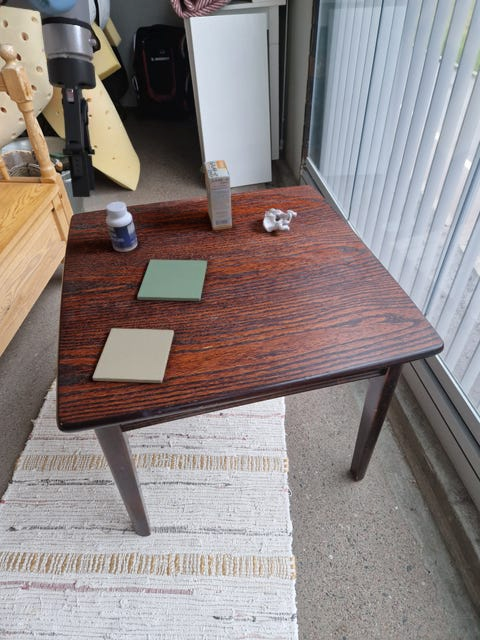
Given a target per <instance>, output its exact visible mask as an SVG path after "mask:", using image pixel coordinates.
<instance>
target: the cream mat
mask: <svg viewBox="0 0 480 640" xmlns="http://www.w3.org/2000/svg"><path fill="white" fill-rule="evenodd" d="M174 335H175V331H174V330H173V329H151V328H150V329H147V328H119V327H117V328H114V327H111V329H110V332H109V334H108V337H107V339H106V342H105V344H104V346H103V350H102V352H101V354H100V357H99V360H98V363H97V364H96V367H95V370H94V373H93V375H92V380H93V381H94V382H95V381H96V382H120V383H121V382H122V383H124V382H125V383H144V384H145V383H147V384H148V383H149V384H163V381H164V376H165V374H166V373H165V372H166V368H167V364H168V360H169V355H170V351H171V348H172V343H173V339H174Z"/></svg>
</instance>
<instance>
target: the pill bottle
mask: <svg viewBox="0 0 480 640" xmlns="http://www.w3.org/2000/svg"><path fill="white" fill-rule="evenodd" d="M105 209H106V213H107V215H106V218H105V221H106V225H107V230H108V233H109V236H110V241H111V245H112V247H113V249H114V250H115V251H117V252H120V253H126V252H131V251H133V250H134V249H135V248H137V246H138V238H137V233H136V229H135V224H134V220H133V215H132V214H131V213H130V211H128V209H127V205H126V203H125V202H123V201H113V202H110V203H108V204H107V205H106V208H105Z"/></svg>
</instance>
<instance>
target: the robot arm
mask: <svg viewBox="0 0 480 640" xmlns="http://www.w3.org/2000/svg"><path fill="white" fill-rule="evenodd" d="M89 1H90V0H0V6H1V7H7V8H14V9H21V10H28V11H32V12H33V11H34V12H38V13H39V17H40V24H41V35H42V41H43V50H44V55H45V56H46V57H47V58H48V59H47V61H46V67H47V68H46V69H47V77H48V78H47V79H48V83H49V84H50V86H52V87H54V88H59V89H60V94H61V96H62V97H61V108H62V113H63V114H62V115H63V125H64V141H65V145H64V148H62V154H63V156H67V158H68V168H69V175H70V183H71V193H72V197H73V198H90V197H91V191H96V185H95V176H94V164H93V156H94V155H96V150H95V148H93V147H92V145H91V137H90V130H89V124H90V123H89V122H90V119H89V103H88V101H87V99H86V98H85V97H84V96H83V90H87V91H89V90H93V89H95V88H97V79H96V67H95V65H94V63H93V62H91V61H93V60H94V50H93V47H94V46H95V47H96V45H97V41H96V39H95V38H92V28H91V16H90V15H91V14H90V3H89Z"/></svg>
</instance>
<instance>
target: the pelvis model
mask: <svg viewBox="0 0 480 640" xmlns="http://www.w3.org/2000/svg"><path fill="white" fill-rule="evenodd" d="M264 212H265V213H264V216H263V217H264V218H263V220H262V225H263V228H264V229H265V231H267V232H268V233H272V231H277V230H279V231H290V229H291V228H290V223H291V220H292V219H293V217H294V218H297V216H298V215H297V214H298V213H297V212H295V211H293V210H291V209H288V210H286V213H285V212H283V211H282V210H281V209H275V208H273V207H272V208H269V209H268V211H267V210H265V211H264Z"/></svg>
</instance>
